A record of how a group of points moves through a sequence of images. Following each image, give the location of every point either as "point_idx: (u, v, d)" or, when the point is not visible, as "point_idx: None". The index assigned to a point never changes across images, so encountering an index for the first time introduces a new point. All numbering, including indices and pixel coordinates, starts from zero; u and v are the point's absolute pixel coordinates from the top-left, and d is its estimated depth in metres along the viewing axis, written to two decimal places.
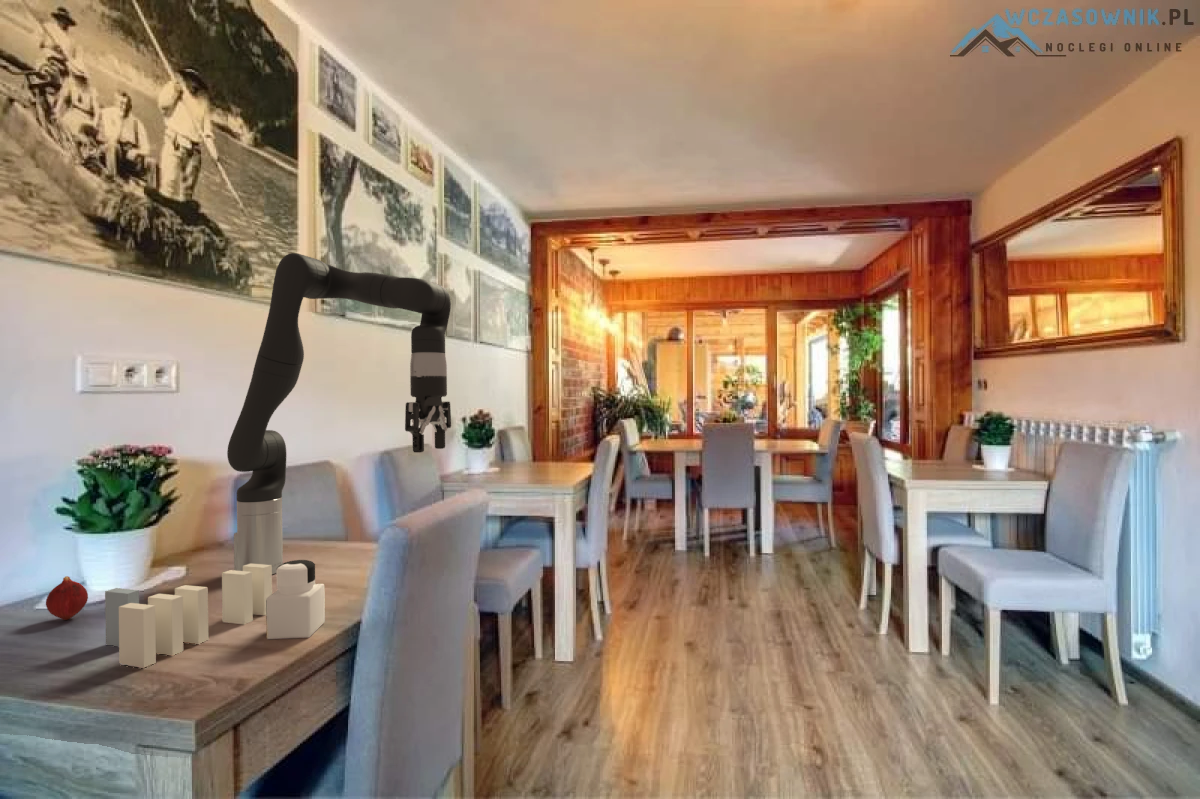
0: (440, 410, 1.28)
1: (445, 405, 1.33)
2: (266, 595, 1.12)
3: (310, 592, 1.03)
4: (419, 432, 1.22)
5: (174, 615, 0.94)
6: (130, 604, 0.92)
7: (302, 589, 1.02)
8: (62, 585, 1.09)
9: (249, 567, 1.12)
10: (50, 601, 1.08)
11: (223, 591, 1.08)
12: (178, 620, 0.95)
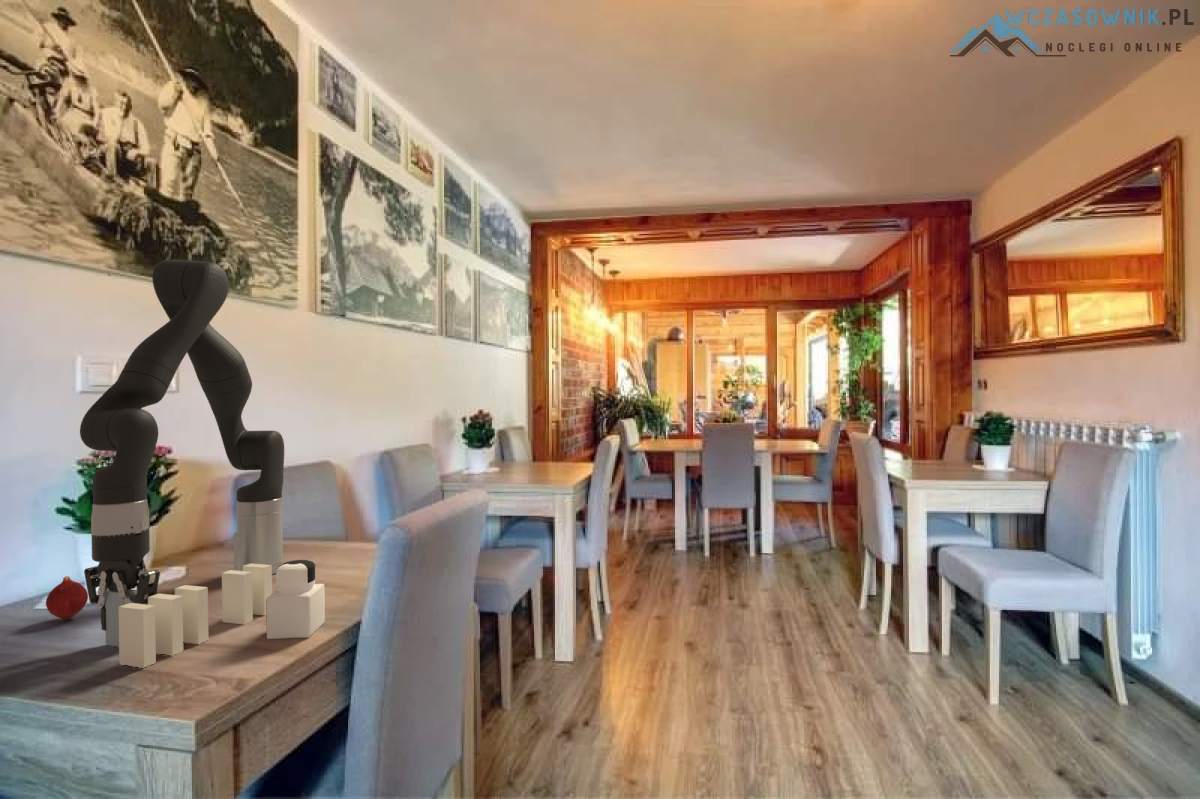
0: None
1: None
2: (266, 595, 1.12)
3: (310, 592, 1.03)
4: None
5: (174, 615, 0.94)
6: (130, 604, 0.92)
7: (302, 589, 1.02)
8: (62, 585, 1.09)
9: (249, 567, 1.12)
10: (50, 601, 1.08)
11: (222, 591, 1.08)
12: (178, 620, 0.95)
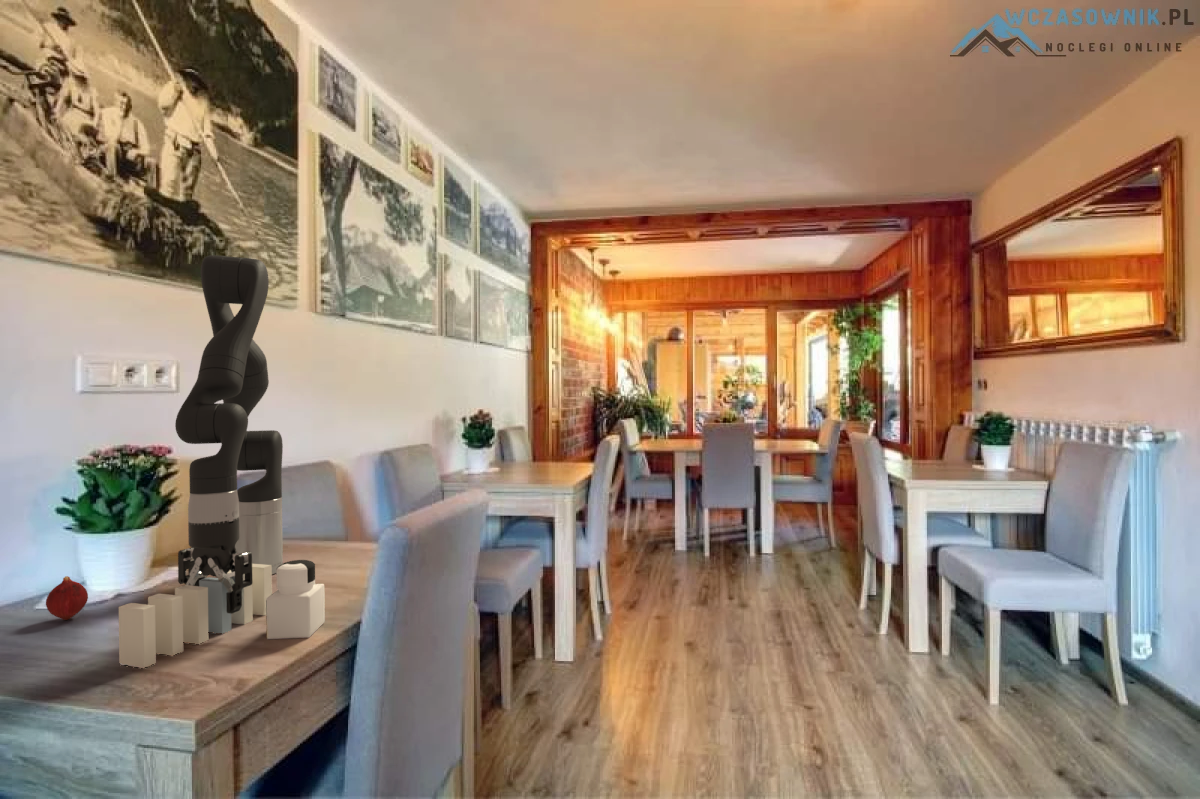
0: None
1: None
2: (266, 595, 1.12)
3: (310, 592, 1.03)
4: None
5: (174, 615, 0.94)
6: (130, 604, 0.92)
7: (302, 589, 1.02)
8: (62, 585, 1.09)
9: None
10: (50, 601, 1.08)
11: None
12: (178, 620, 0.95)
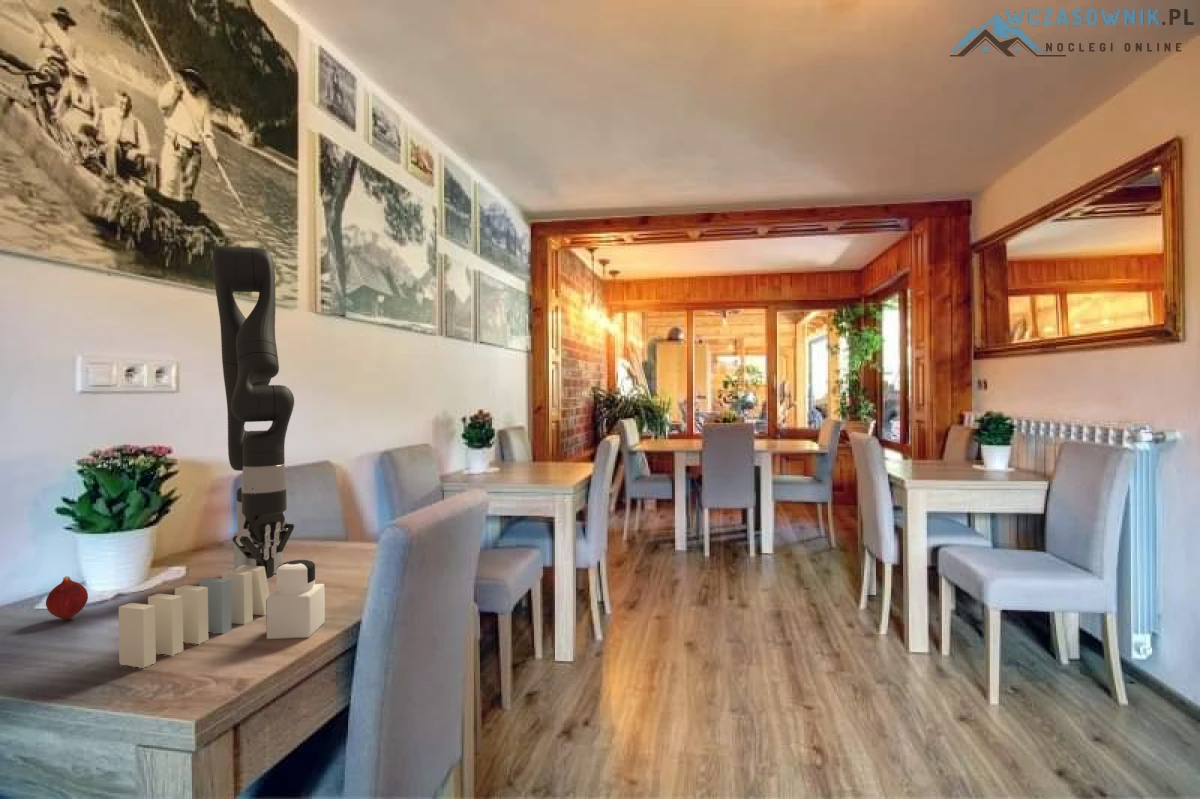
0: None
1: None
2: (263, 596, 1.11)
3: (310, 592, 1.03)
4: None
5: (174, 615, 0.94)
6: (130, 604, 0.92)
7: (302, 589, 1.02)
8: (62, 585, 1.09)
9: (242, 570, 1.11)
10: (50, 601, 1.08)
11: None
12: (178, 620, 0.95)
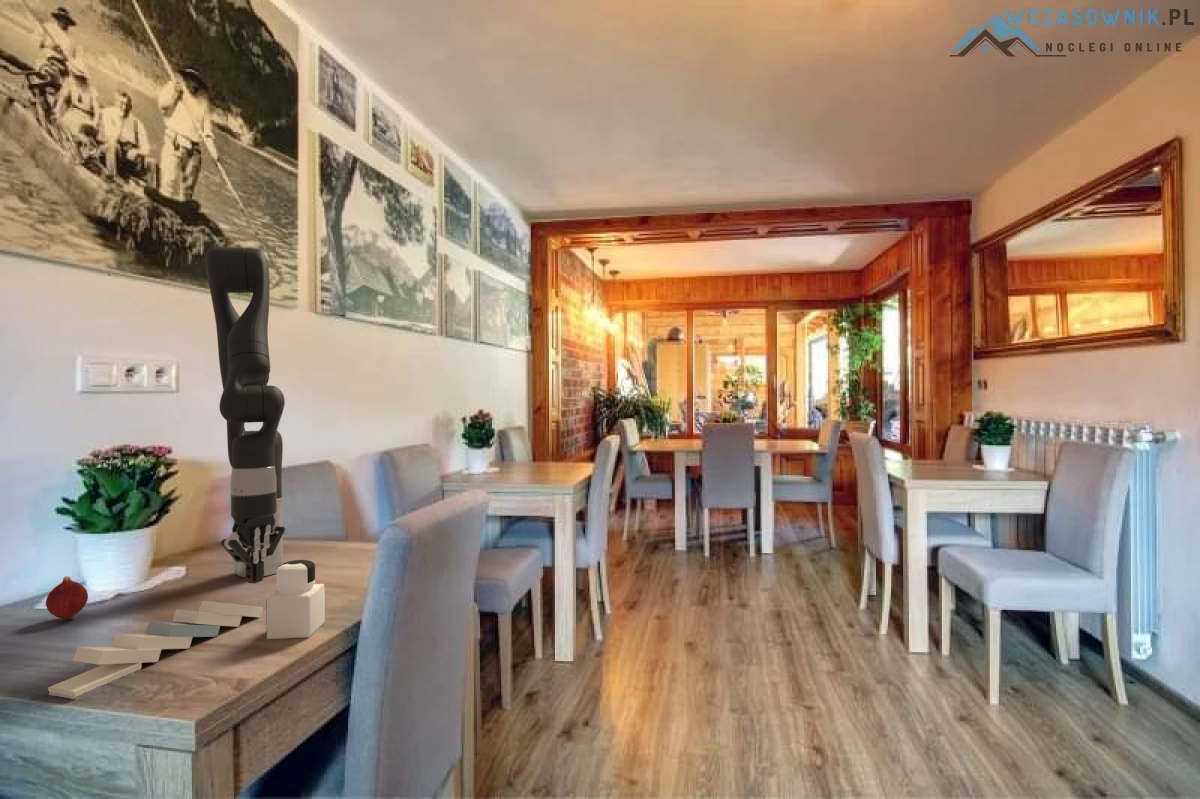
0: None
1: None
2: (246, 613, 1.07)
3: (310, 592, 1.03)
4: None
5: (117, 660, 0.86)
6: None
7: (302, 589, 1.02)
8: (62, 585, 1.09)
9: None
10: (50, 601, 1.08)
11: None
12: (126, 655, 0.87)
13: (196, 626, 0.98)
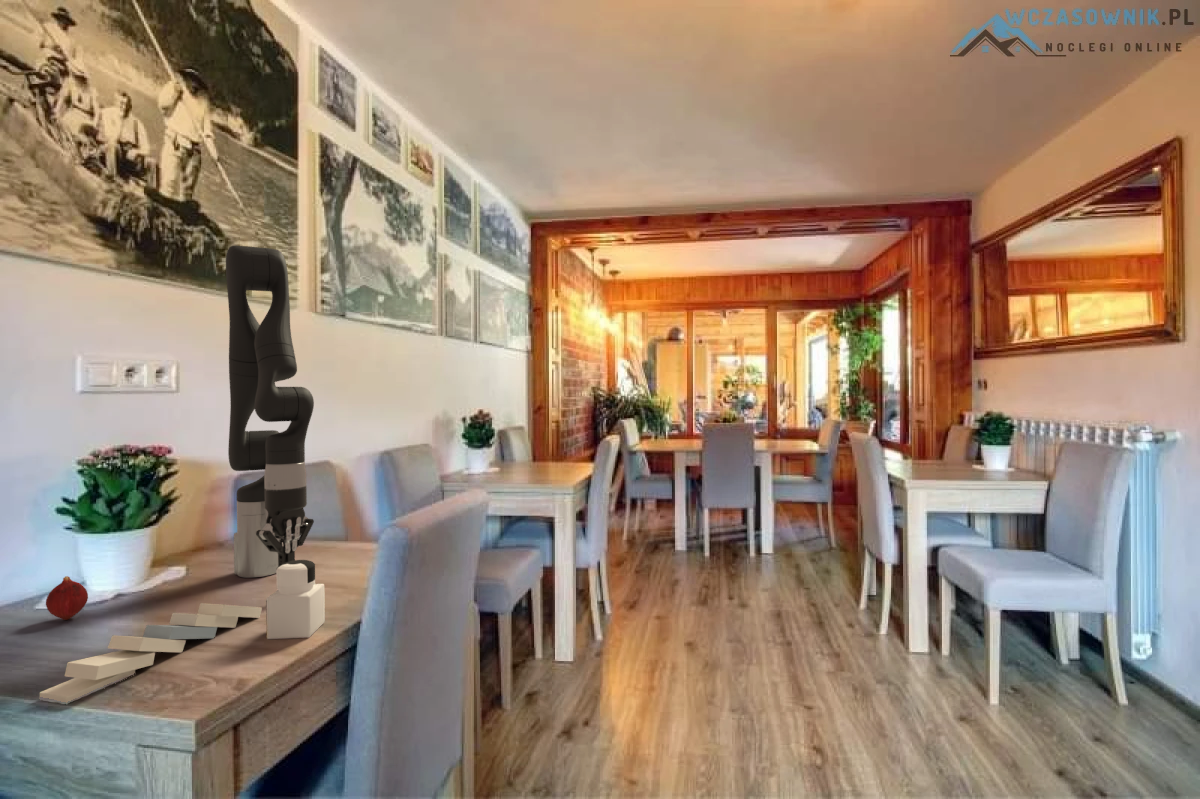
0: None
1: None
2: (245, 614, 1.07)
3: (310, 592, 1.03)
4: None
5: (114, 672, 0.84)
6: (43, 697, 0.80)
7: (302, 589, 1.02)
8: (62, 585, 1.09)
9: None
10: (50, 601, 1.08)
11: None
12: (121, 665, 0.85)
13: (195, 628, 0.97)
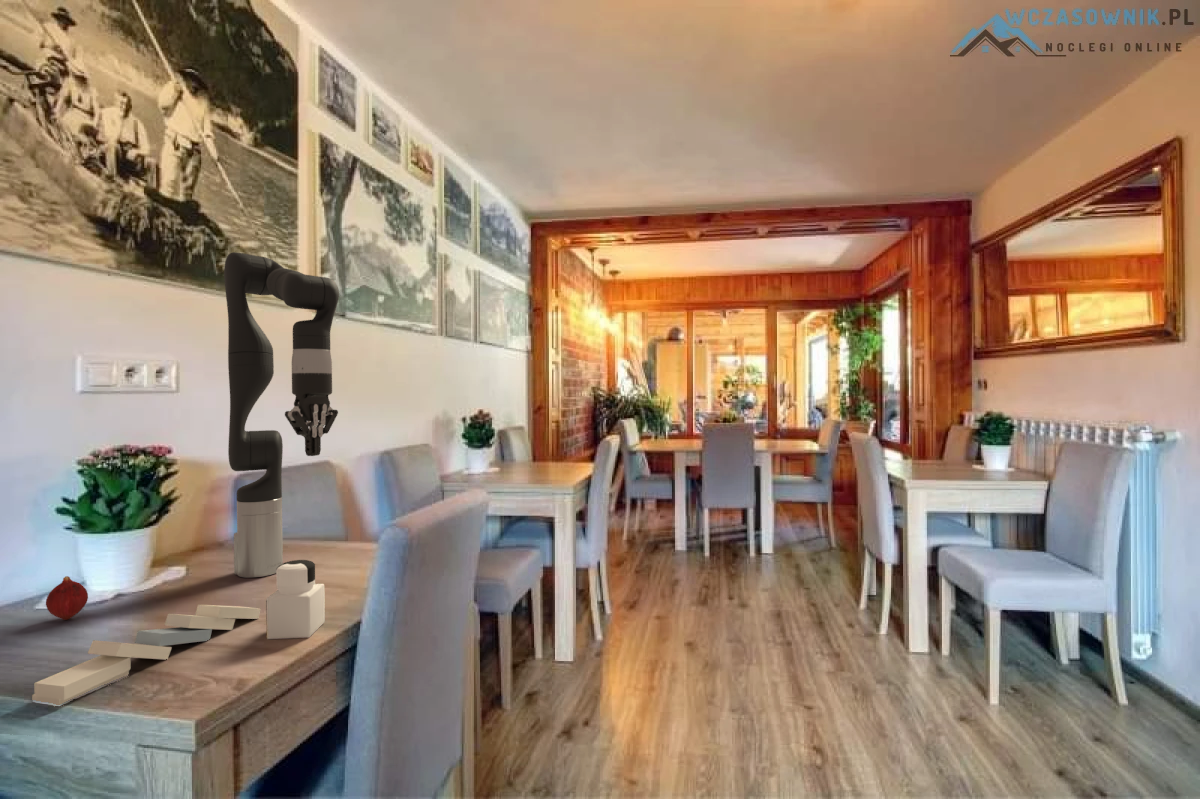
0: None
1: None
2: (243, 615, 1.07)
3: (310, 592, 1.03)
4: None
5: (84, 687, 0.81)
6: (36, 699, 0.80)
7: (302, 589, 1.02)
8: (62, 585, 1.09)
9: None
10: (50, 601, 1.08)
11: None
12: (92, 679, 0.82)
13: (187, 632, 0.96)
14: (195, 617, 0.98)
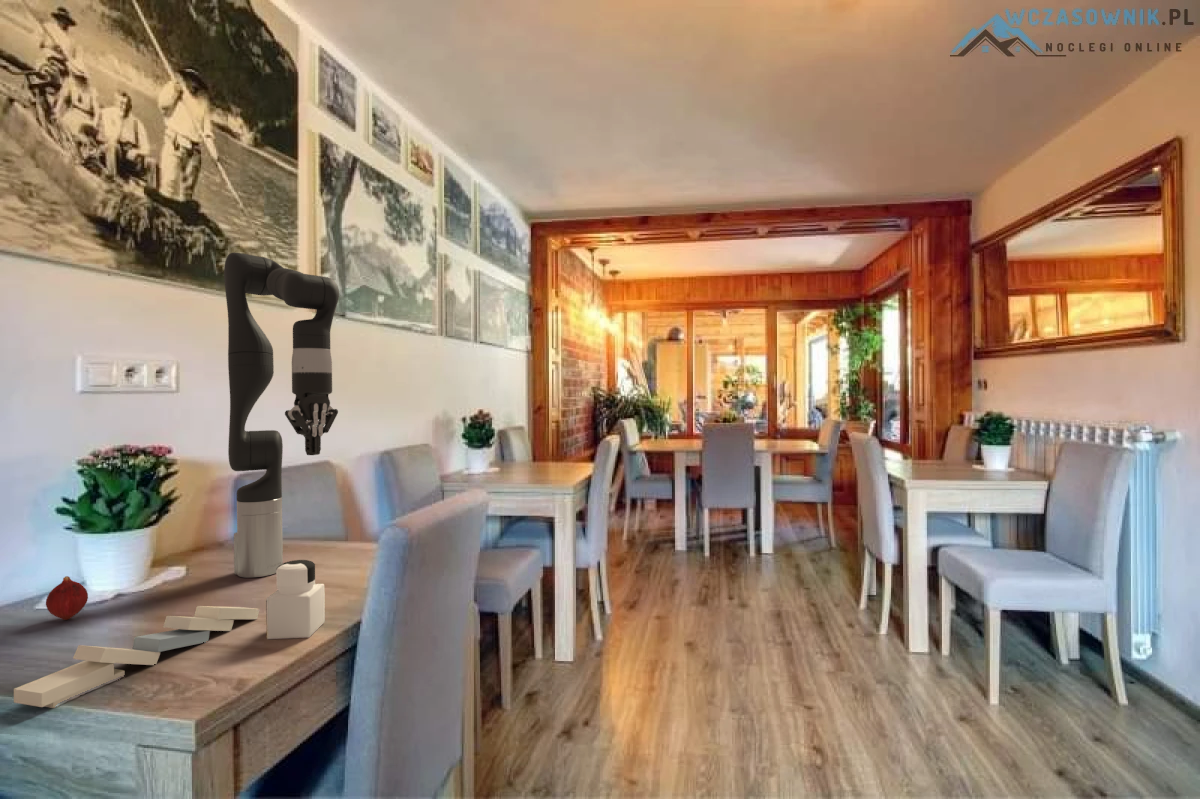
0: None
1: None
2: (242, 616, 1.06)
3: (310, 592, 1.03)
4: None
5: (64, 694, 0.79)
6: None
7: (302, 589, 1.02)
8: (62, 585, 1.09)
9: (202, 617, 1.02)
10: (50, 601, 1.08)
11: None
12: (72, 685, 0.81)
13: (185, 636, 0.96)
14: (194, 619, 0.97)
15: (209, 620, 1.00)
